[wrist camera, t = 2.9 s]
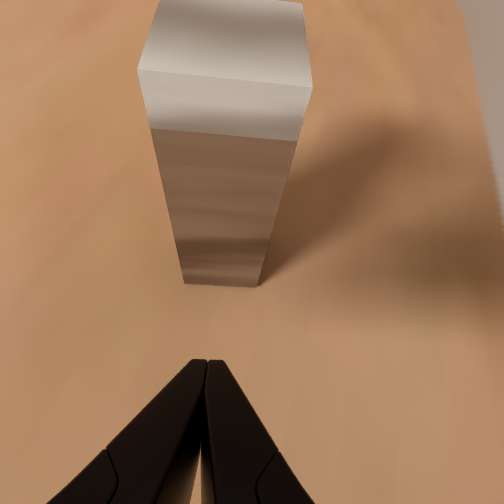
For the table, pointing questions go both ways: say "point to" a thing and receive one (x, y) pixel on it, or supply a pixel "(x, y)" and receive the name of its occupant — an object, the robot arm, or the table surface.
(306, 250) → the table surface
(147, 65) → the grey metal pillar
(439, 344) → the table surface
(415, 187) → the table surface
